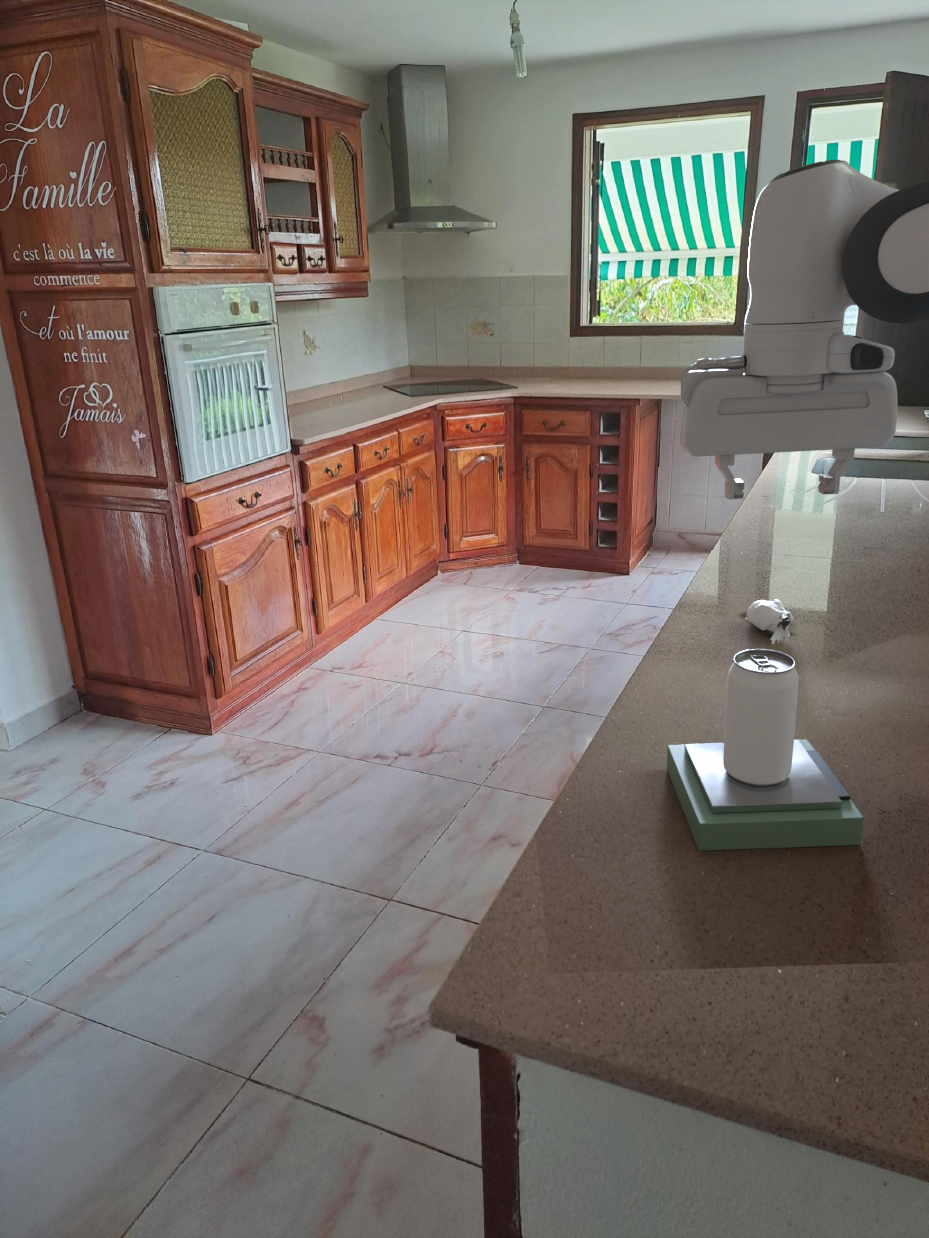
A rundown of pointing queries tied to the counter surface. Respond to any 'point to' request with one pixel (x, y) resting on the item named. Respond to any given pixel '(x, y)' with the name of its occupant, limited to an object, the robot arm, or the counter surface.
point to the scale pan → (733, 796)
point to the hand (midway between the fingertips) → (780, 495)
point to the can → (760, 717)
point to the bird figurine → (770, 618)
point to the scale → (763, 815)
